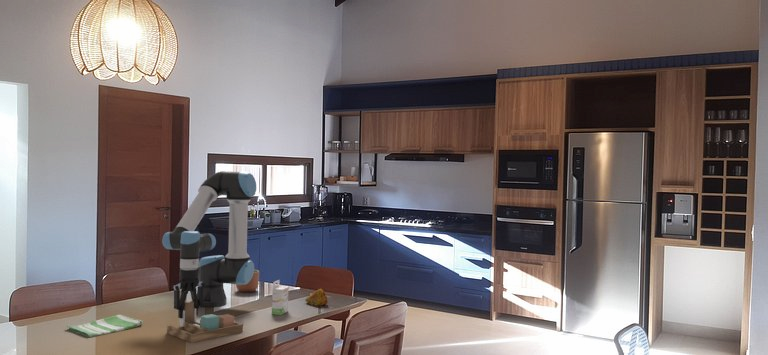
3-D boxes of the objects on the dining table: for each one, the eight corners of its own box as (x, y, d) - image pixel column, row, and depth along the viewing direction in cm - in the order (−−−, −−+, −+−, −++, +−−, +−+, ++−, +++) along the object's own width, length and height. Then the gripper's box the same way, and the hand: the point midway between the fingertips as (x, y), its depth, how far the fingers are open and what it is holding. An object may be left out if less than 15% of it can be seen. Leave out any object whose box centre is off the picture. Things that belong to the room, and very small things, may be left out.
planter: (235, 289, 322) (235, 269, 322) (258, 288, 325) (258, 269, 325) (235, 293, 310) (235, 273, 310) (259, 293, 313) (259, 272, 313)
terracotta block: (216, 330, 238) (216, 315, 238) (226, 328, 242) (227, 314, 242) (223, 333, 235) (223, 318, 235) (234, 330, 239) (234, 316, 239)
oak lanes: (166, 333, 232) (167, 325, 232) (217, 323, 250) (217, 316, 249) (191, 342, 220) (191, 334, 220) (242, 331, 238) (242, 324, 238)
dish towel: (65, 330, 233) (65, 324, 233) (120, 319, 252) (120, 313, 252) (88, 339, 223) (88, 332, 223) (144, 327, 242) (144, 320, 242)
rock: (308, 313, 288) (301, 296, 293) (320, 313, 295) (313, 297, 300) (322, 300, 284) (315, 283, 289) (334, 300, 290) (326, 284, 296)
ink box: (281, 315, 267) (282, 282, 267) (271, 314, 268) (272, 282, 268) (288, 311, 275) (289, 279, 275) (278, 310, 276) (279, 279, 276)
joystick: (179, 326, 243) (180, 301, 243) (190, 323, 247) (191, 300, 247) (207, 336, 229) (208, 310, 229) (218, 333, 233) (219, 308, 233)
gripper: (174, 272, 234) (173, 330, 234) (212, 267, 247) (211, 322, 248) (165, 269, 239) (163, 326, 239) (203, 265, 252) (201, 319, 252)
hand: (187, 324), depth 243 cm, fingers closed on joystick, 4 cm apart
